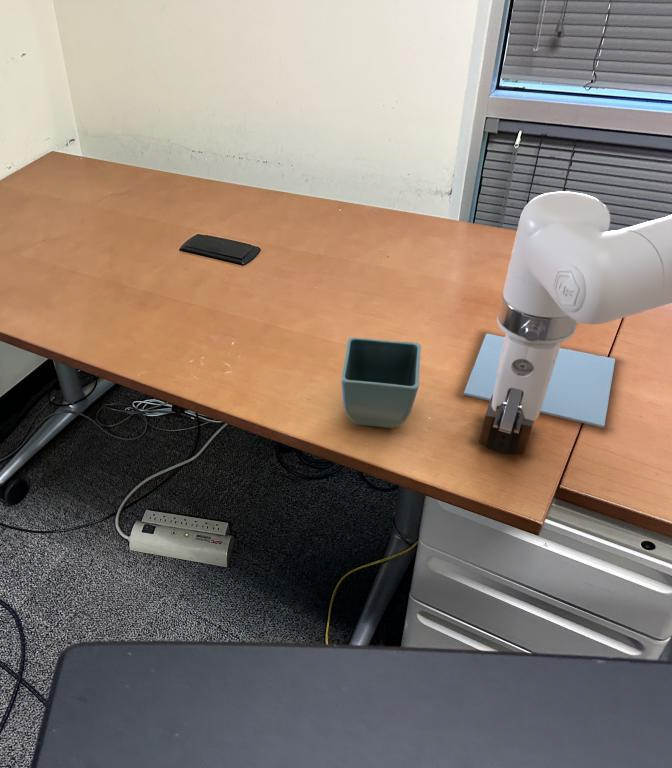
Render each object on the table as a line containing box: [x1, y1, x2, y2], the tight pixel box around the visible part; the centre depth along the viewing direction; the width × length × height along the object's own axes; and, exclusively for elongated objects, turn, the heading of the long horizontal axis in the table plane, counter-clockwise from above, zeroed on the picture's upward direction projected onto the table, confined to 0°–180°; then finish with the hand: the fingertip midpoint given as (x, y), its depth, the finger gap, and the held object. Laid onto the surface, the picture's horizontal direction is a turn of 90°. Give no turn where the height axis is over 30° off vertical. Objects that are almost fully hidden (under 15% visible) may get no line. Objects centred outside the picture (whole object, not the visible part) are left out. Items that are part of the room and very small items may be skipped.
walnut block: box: [478, 395, 535, 455], centre depth 82 cm, size 5×4×4 cm
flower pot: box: [340, 337, 422, 429], centre depth 86 cm, size 9×9×9 cm
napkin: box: [463, 333, 616, 429], centre depth 90 cm, size 16×14×1 cm
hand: (504, 435), depth 83 cm, fingers closed on walnut block, 4 cm apart
